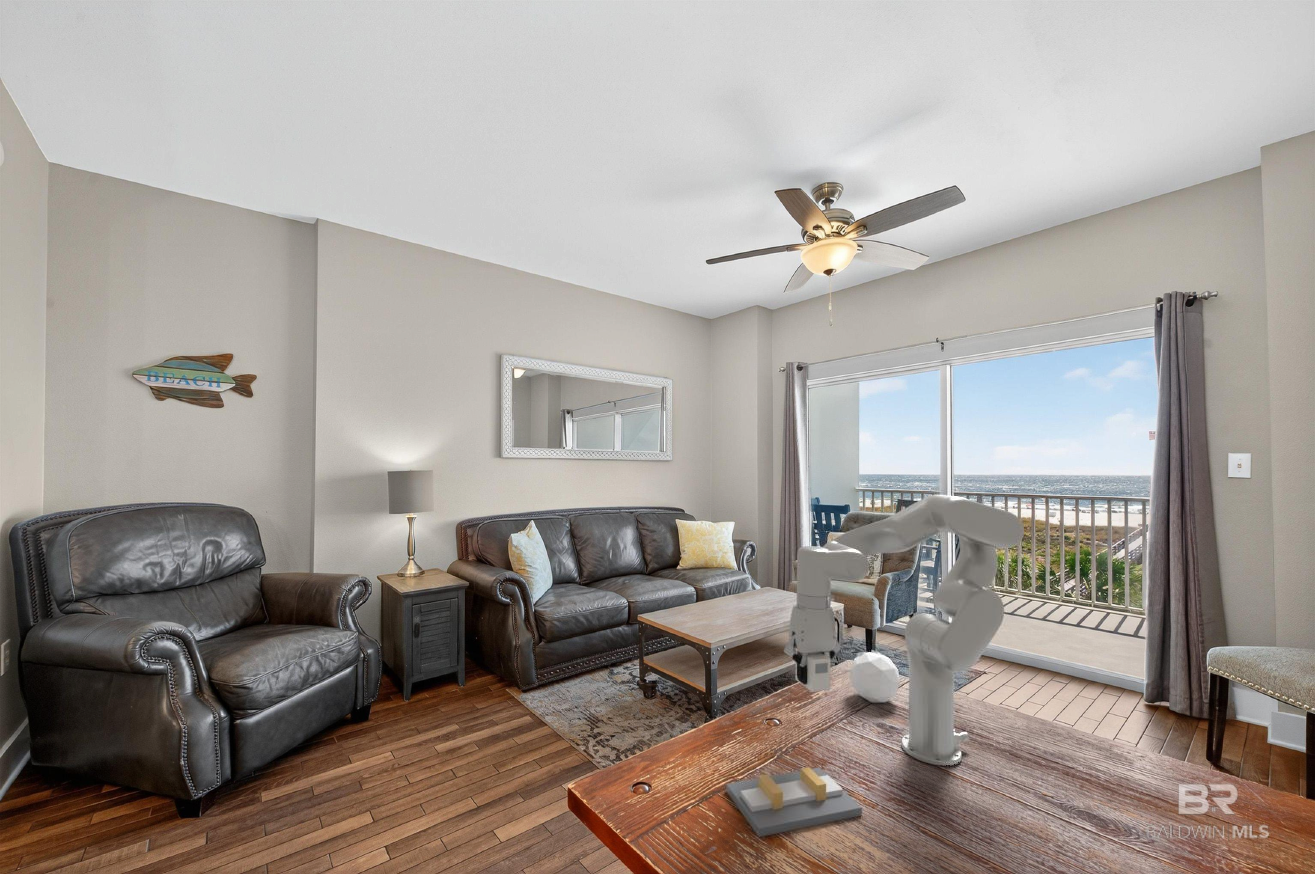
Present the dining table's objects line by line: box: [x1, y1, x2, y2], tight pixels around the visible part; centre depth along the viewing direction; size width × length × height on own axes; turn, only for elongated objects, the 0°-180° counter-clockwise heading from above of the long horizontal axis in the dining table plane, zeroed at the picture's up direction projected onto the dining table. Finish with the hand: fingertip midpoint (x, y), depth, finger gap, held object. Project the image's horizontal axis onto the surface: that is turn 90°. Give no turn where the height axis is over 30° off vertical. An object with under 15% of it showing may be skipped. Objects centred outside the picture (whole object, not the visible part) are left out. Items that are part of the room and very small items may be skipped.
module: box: [795, 648, 831, 693], centre depth 125 cm, size 5×7×7 cm, turn 17°
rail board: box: [725, 766, 863, 838], centre depth 108 cm, size 22×14×4 cm, turn 107°
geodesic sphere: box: [849, 649, 901, 703], centre depth 156 cm, size 14×14×14 cm
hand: (812, 680), depth 125 cm, fingers closed on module, 4 cm apart
